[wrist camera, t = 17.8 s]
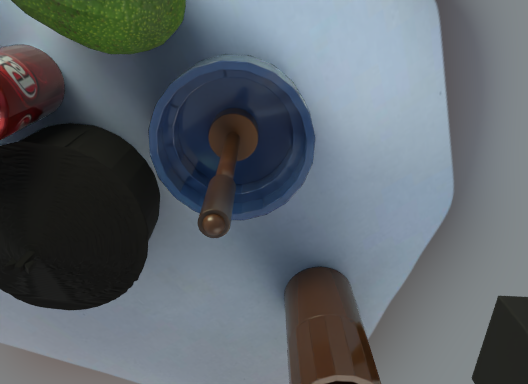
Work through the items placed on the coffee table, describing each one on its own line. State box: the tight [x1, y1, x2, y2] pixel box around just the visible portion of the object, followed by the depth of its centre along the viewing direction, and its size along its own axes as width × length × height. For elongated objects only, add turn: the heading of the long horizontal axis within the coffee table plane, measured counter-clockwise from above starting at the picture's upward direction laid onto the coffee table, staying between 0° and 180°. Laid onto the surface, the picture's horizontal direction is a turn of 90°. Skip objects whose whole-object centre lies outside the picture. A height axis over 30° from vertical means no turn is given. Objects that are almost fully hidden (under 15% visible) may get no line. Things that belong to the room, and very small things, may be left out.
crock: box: [284, 267, 381, 384], centre depth 48 cm, size 9×9×17 cm
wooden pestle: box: [198, 108, 258, 238], centre depth 36 cm, size 5×5×22 cm
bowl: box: [149, 54, 315, 220], centre depth 44 cm, size 16×16×6 cm
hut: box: [0, 123, 160, 310], centre depth 43 cm, size 18×18×15 cm
